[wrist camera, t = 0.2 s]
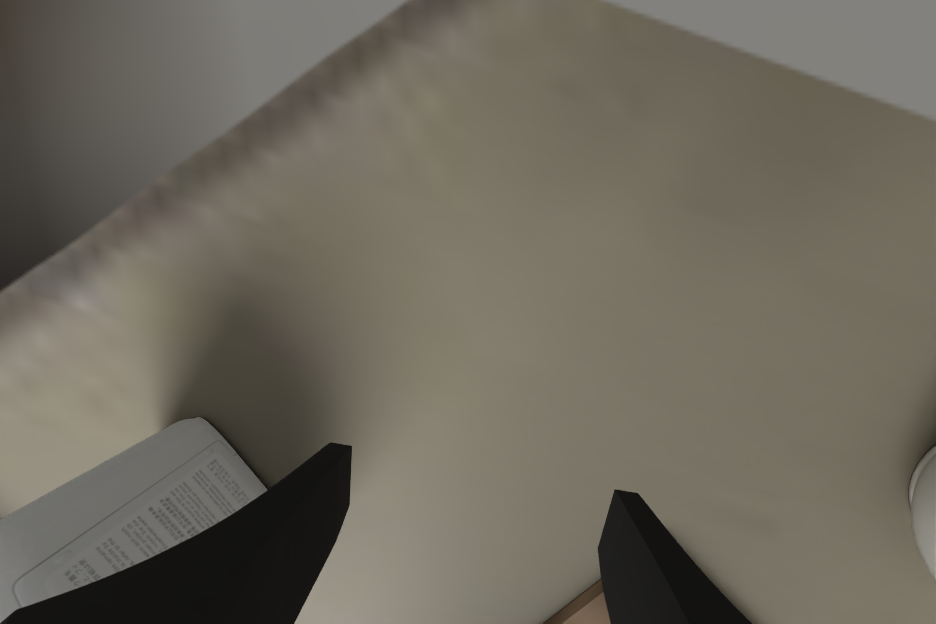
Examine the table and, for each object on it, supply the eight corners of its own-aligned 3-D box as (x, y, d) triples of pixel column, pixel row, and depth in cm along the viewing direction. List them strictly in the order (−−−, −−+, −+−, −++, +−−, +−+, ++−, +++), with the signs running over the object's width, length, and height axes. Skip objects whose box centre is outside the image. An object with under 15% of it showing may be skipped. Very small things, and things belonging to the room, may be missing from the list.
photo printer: (146, 443, 25) (-199, 645, 13) (201, 399, 24) (-109, 569, 12) (267, 581, 26) (54, 893, 13) (322, 543, 25) (152, 837, 13)
